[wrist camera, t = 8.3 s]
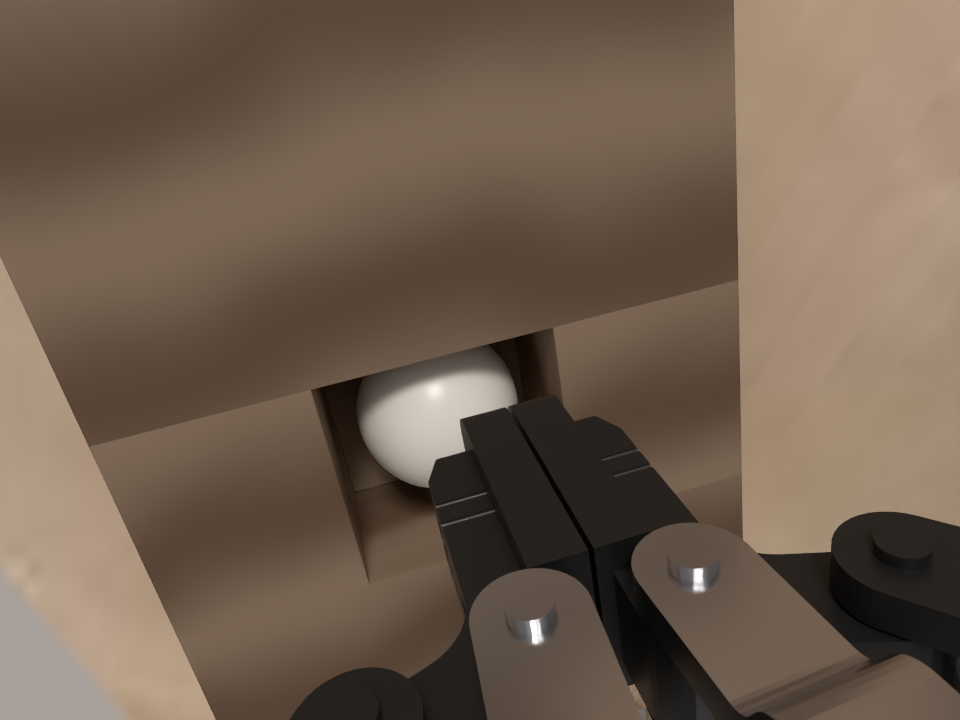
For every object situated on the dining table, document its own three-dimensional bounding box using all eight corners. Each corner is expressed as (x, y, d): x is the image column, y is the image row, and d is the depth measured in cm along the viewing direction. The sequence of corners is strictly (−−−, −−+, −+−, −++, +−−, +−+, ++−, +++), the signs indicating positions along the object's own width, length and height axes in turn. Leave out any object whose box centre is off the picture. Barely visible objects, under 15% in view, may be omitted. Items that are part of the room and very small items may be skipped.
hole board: (-194, -398, 14) (-386, -573, 10) (613, -473, 16) (722, -639, 12) (236, 630, 25) (227, 744, 21) (675, 498, 27) (743, 578, 23)
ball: (480, 302, 23) (515, 318, 19) (512, 438, 24) (553, 483, 20) (336, 340, 22) (338, 365, 18) (375, 478, 23) (386, 534, 19)
